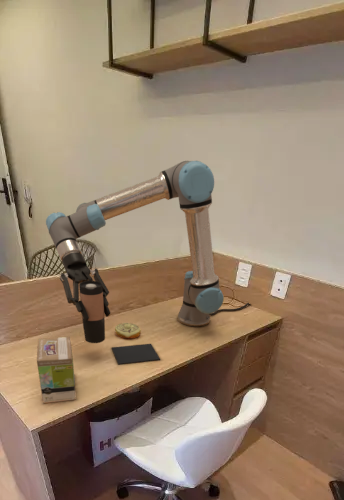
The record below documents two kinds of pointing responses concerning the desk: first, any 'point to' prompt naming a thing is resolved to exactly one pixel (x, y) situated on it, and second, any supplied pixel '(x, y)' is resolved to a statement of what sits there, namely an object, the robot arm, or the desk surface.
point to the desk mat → (135, 354)
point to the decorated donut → (127, 330)
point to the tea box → (56, 369)
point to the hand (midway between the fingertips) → (97, 317)
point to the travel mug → (93, 311)
